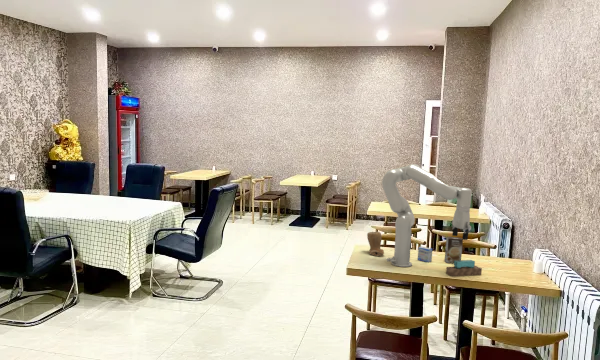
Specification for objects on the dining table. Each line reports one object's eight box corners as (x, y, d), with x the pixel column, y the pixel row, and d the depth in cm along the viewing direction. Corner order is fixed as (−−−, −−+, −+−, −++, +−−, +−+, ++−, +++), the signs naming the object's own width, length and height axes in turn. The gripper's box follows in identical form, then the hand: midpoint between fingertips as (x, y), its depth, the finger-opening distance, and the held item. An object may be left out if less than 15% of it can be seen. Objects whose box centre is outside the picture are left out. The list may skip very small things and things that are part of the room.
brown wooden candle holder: (452, 276, 267) (452, 269, 267) (445, 273, 273) (446, 266, 272) (481, 275, 273) (481, 268, 273) (474, 272, 279) (475, 265, 278)
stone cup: (366, 250, 322) (368, 229, 320) (384, 252, 319) (385, 230, 318) (365, 255, 307) (366, 233, 306) (383, 257, 305) (385, 235, 303)
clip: (456, 275, 270) (457, 262, 269) (453, 274, 273) (454, 260, 272) (473, 274, 273) (474, 261, 272) (470, 273, 276) (471, 259, 275)
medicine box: (417, 260, 301) (418, 247, 301) (420, 259, 305) (421, 246, 304) (428, 262, 296) (429, 249, 295) (431, 261, 299) (432, 248, 299)
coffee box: (446, 263, 297) (448, 238, 295) (444, 260, 303) (446, 236, 302) (461, 264, 296) (463, 239, 295) (458, 261, 302) (460, 237, 301)
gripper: (448, 206, 279) (445, 234, 280) (466, 211, 262) (463, 241, 264) (459, 206, 281) (456, 234, 282) (477, 211, 264) (474, 241, 266)
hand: (459, 237), depth 273 cm, fingers open, 9 cm apart
